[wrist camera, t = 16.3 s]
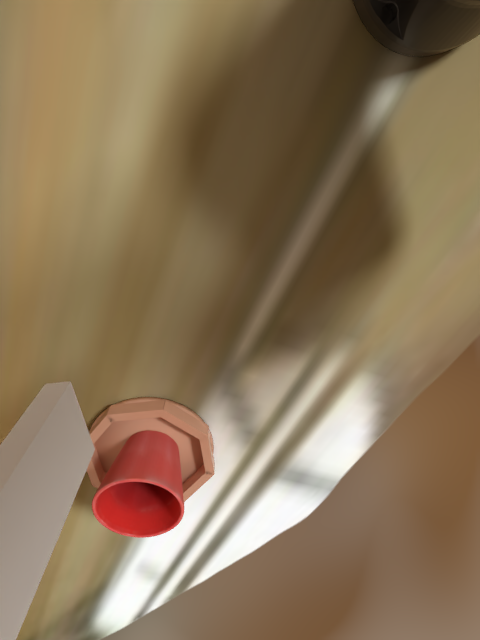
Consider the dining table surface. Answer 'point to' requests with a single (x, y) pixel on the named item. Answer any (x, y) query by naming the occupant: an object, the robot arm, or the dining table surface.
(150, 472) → the flower pot
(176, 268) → the dining table surface
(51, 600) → the dining table surface
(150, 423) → the terracotta saucer
